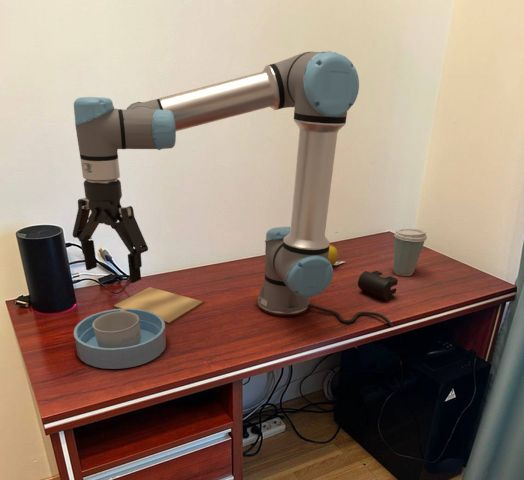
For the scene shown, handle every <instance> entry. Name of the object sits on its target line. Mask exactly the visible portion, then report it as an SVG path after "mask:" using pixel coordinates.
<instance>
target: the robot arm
mask: <svg viewBox="0 0 524 480" xmlns="http://www.w3.org/2000/svg"><path fill="white" fill-rule="evenodd" d="M359 89H360V78H359V75H358V70H357V68H356V67H355V65H354V63H353V62H352V61H351V60H350V59H349V58H348V57H346V56H345V55H343V54H342V53H338V52H335V51H331V50H328V51H305V52H302V53H299V54H295V55H293V56H291V57H289V58H286V59H283V60H280V61H278V62H274V63H271V64H266V65H265V66H264V68H263V70H262V71H261V72H255V73H252V74H248V75H244V76H240V77H236V78H233V79H229V80H225V81H220V82H217V83H213V84H210V85H205V86H202V87H197V88H193V89H189V90H186V91H182V92H181V91H180V92H178V93H173V94H170V95H166V96H162V97H159V98H155V99H151V100H147V101H136V102H133V103H131V104H129V106H127V107H126V108H125V109H123V108H122V109H121V108H115V105H114V103H113V100H112V99H111V98H110V97H99V96H84V97H78V98H76V99H75V100H74V101H73V113H74V126H75V133H76V139H77V146H78V152H79V159H80V165H81V172H82V173H81V174H82V178H83V179H84V181H83V188H84V196H85V197H82V198H79V199H78V200H77V213H76V216H75V221H74V226H73V230H72V237H73V238H75V239H78V241H79V242H80V247H81V253H82V255H83V258H84V265H85V270H86V271H91V270H93V269H96V268H98V264H97V257H96V249H95V243H94V240H93V235H94V233H95V231H96V230H97V228H98V226H99V225H102V224H104V225H105V226H110V227H111V229H112V230H114V231H115V232H116V233H117V236H118V237H119V238H120V240H121V241H122V243H123V245H124V246H125V247H126V249H127V250H128V252H129V253H128V254H127V262H128V272H129V283H131V284H134V283H137V282H139V281H141V280H142V275H141V268H142V266H143V264H142V254H143V253H146V252H148V251H149V246H148V245H147V242H146V240H145V237H144V235H143V233H142V231H141V229H140V226H139V224H138V222H137V219H136V217H135V213H134V212H135V211H134V207H133V206H132V205H129V206H122V204H121V199H122V197H123V192H122V183H121V181H120V180H119V179H120V177H121V171H120V164H119V153H118V151H119V150H157V151H160V150H167V149H173V148H174V147H175V146H176V141H177V132H180V131H184V130H187V129H190V128H195V127H198V126H202V125H205V124H206V125H207V124H210V123H214V122H217V121H218V122H219V121H221V120H226V119H229V118H233V117H236V116H240V115H245V114H249V113H252V112H255V111H261V110H263V109H268V108H271V109H272V110H273V111H278V110H281V109H286V108H294V109H293V110H294V111H293V121H294V123H295V125H297V127H298V129H299V131H298V143H297V154H296V155H297V156H296V165H295V174H294V175H295V177H294V187H293V198H292V208H291V209H292V210H291V220H290V221H291V222H290V226H278V227H277V226H276V227H272V228H269V229H268V230H267V232H266V234H265V240H264V243H265V250H264V252H265V255H264V258H265V260H264V281H263V283H262V286H261V289H260V291H259V294H258V297H257V307H258V309H259V310H260V311H261V312H264V313H265V314H268V315H271V316H276V317H283V318H284V317H285V318H286V317H297V316H300V315H303V314H305V313H307V312H308V311H309V310H310V308H311V309H314V310H317V311H322V312H325V313H329V314H332V315H335V316H336V317H337V318H338V320H339V322H340V323H344V324H351V323H354V322H355V321H356V319H357V318H358V317H359V316H362V315H364V316H374V317H378V318H381V319H382V320H383V321H384V322H386V323H387V325H388V326H389V327H390V328H394V327H395V325H394V324H393V323H392V322H391V321H390V320H389V318H387V317H386V316H384V315H383V314H381V313H379V312H374V311H358V312H357V313H356V314H355V315H353V317H352V318H350V319H343V318H342V315H341V314H340V313H339V312H337V311H335V310H332V309H328V308H324V307H321V306H317V305H314V304H311V301H310V298H313V297H316V296H319V295H320V294H322V293H323V292H324V291H325V290H327V289H328V287H329V286H330V285H331V283H332V280H333V277H334V267H333V265H331V263H330V261H329V260H328V255H329V247H330V245H331V243H330V242H331V241H330V240H329V239H328V238H327V237H326V228H327V220H328V212H329V203H330V197H331V187H332V181H333V179H332V178H333V172H334V165H335V158H336V157H335V156H336V149H337V140H338V133H339V131H340V130H341V129H342V128H343V127H345V126H346V123H347V117H348V111H349V110H350V109H351V108H352V106H354V104H355V102H356V100H357V98H358V95H359Z"/></svg>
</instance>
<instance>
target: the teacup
mask: <svg viewBox="0 0 524 480" xmlns="http://www.w3.org/2000/svg"><path fill="white" fill-rule="evenodd" d="M92 326H93V328H94V332H95V336H96V340H97V343H98V345H99V347H101V348H123V347H129V346H134V345H137V344H139V343H140V340H141V331H140V325H139V317H138V315H136V314H135V313H132V312H128V310H127V309H126V308H122V309H121V310H120V311H117V312H111V313H107V314H104V315H102V316H100V317H98V318H97V319H95V320H94V322H93V324H92Z"/></svg>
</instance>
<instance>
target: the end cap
mask: <svg viewBox="0 0 524 480" xmlns="http://www.w3.org/2000/svg"><path fill="white" fill-rule="evenodd" d="M398 281H399V280H398V278H396V277H393V276H391V275H389V276H386V277H383V272H381V271H378V270H373V271H371V272H370V271H367V270H365V271H363V272H362V273H361V274H360V276H359V278H358V279H357V287H358V289H359V290H360V291H362V292H363V293H366V294H368V295H370V296H373V297H375V298H378V299H380V300H381V301H385V302H387V301H389V300H392V299H394V298H395V294H396V292H397V287H395V288H392V287H394V286H397V285H398Z"/></svg>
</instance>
